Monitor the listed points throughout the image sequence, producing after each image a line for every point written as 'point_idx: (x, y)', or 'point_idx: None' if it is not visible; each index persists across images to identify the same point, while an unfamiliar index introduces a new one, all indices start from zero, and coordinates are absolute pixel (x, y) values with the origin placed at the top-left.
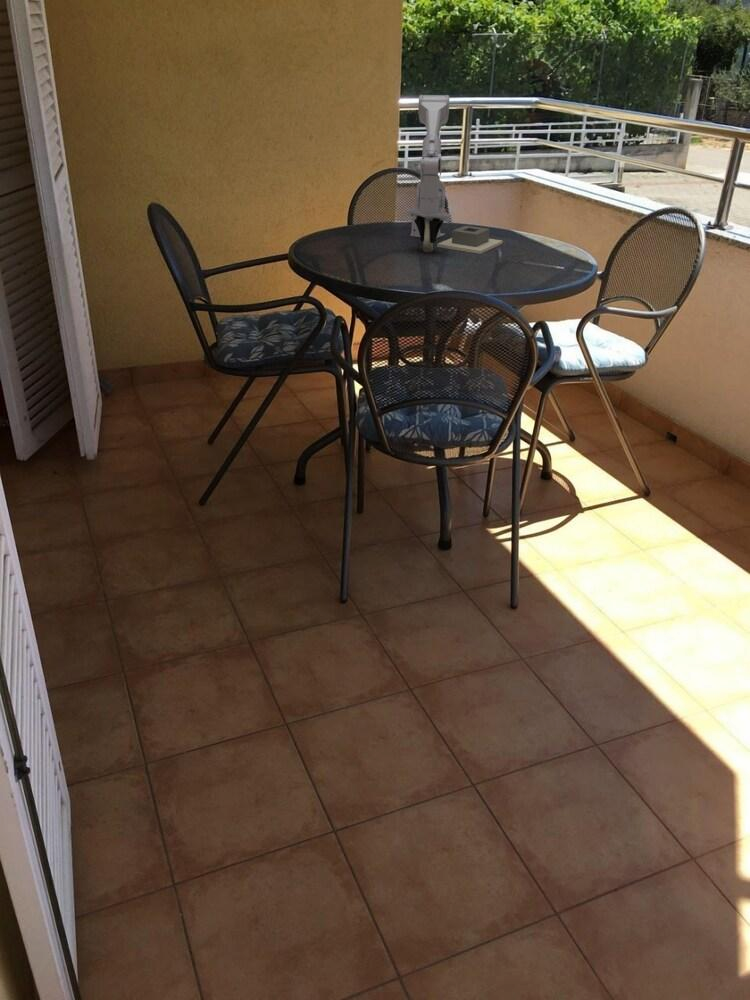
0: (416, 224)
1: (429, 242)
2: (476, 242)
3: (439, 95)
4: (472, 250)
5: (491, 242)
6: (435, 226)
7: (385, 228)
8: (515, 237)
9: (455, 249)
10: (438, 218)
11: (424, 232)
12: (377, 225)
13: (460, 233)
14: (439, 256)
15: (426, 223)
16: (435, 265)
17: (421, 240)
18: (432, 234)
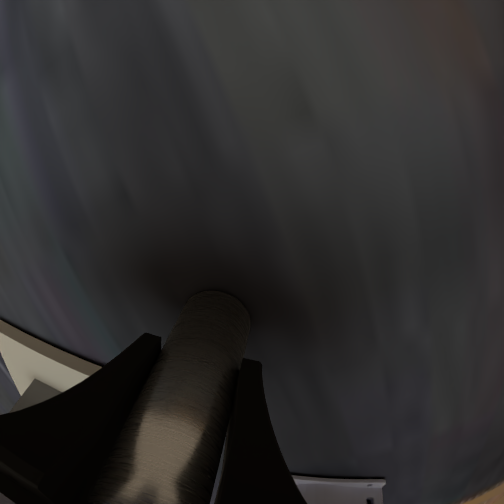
0: (297, 500)
1: (170, 340)
2: (26, 392)
3: None
4: (18, 338)
5: None
6: (13, 415)
7: (463, 486)
8: None
9: (95, 366)
10: (4, 498)
11: (201, 418)
12: (479, 489)
13: None
14: (92, 221)
15: (140, 498)
16: (43, 9)
17: (254, 365)
18: (99, 374)
